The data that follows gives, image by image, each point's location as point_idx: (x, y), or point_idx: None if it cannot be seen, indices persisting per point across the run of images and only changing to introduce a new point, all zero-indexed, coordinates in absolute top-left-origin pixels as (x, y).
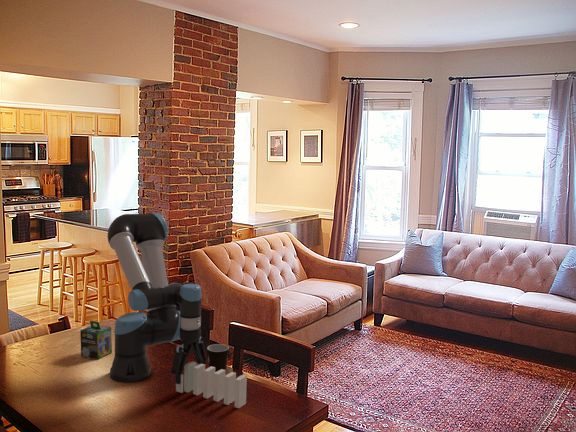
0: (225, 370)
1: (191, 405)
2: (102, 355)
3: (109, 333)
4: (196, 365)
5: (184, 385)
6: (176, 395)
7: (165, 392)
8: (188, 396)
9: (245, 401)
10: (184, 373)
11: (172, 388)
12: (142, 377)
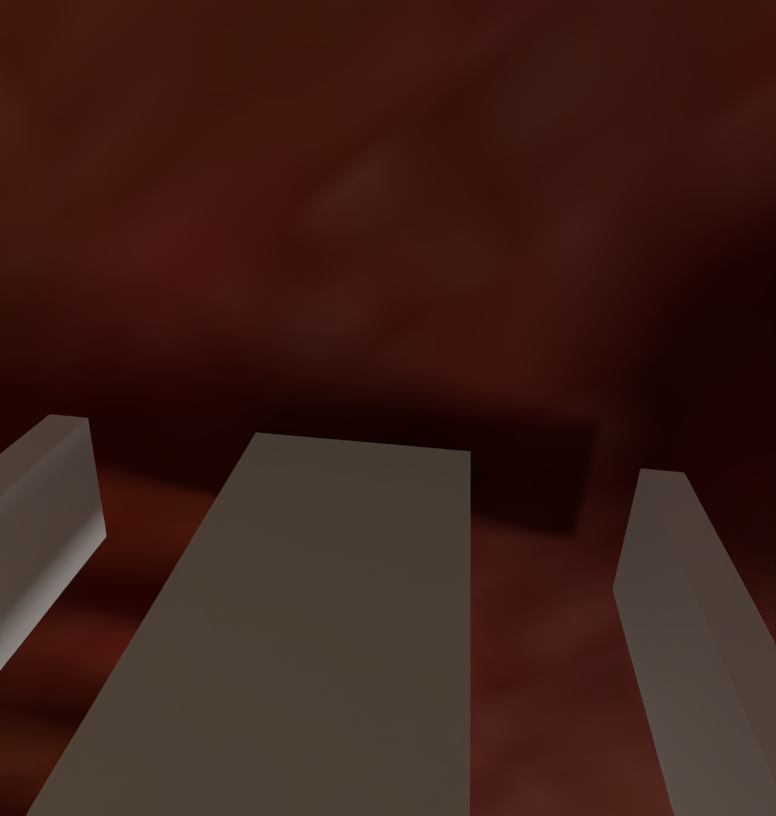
0: None
1: (15, 711)
2: None
3: None
4: (760, 794)
5: (221, 502)
6: (72, 411)
7: (15, 166)
8: (169, 574)
9: None
10: (95, 706)
11: (227, 170)
12: None
